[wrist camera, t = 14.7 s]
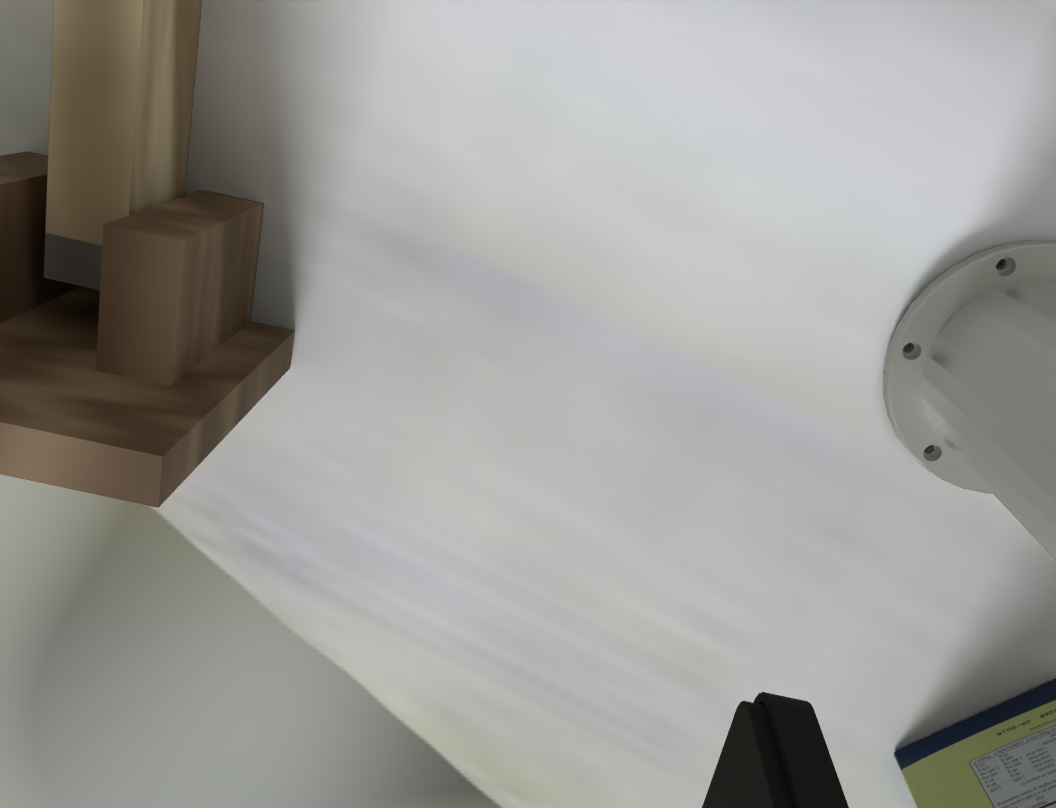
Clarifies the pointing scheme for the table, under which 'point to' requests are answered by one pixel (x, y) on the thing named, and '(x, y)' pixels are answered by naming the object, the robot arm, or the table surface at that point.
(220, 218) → the wooden slotted stand
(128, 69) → the bed rail
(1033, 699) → the protein box
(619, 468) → the table surface
